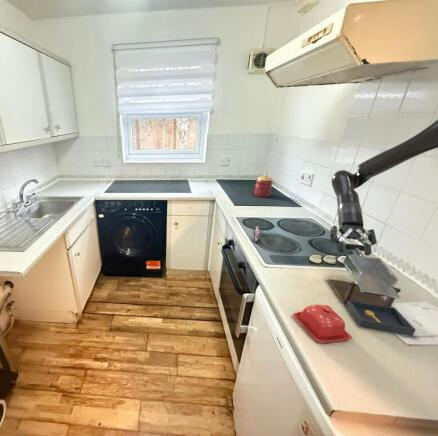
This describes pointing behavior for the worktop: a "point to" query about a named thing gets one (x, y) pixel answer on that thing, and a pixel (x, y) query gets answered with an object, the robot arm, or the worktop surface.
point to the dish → (370, 273)
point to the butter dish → (323, 323)
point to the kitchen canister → (263, 186)
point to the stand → (358, 293)
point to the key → (371, 315)
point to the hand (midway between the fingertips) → (354, 253)
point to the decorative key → (256, 233)
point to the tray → (380, 318)
